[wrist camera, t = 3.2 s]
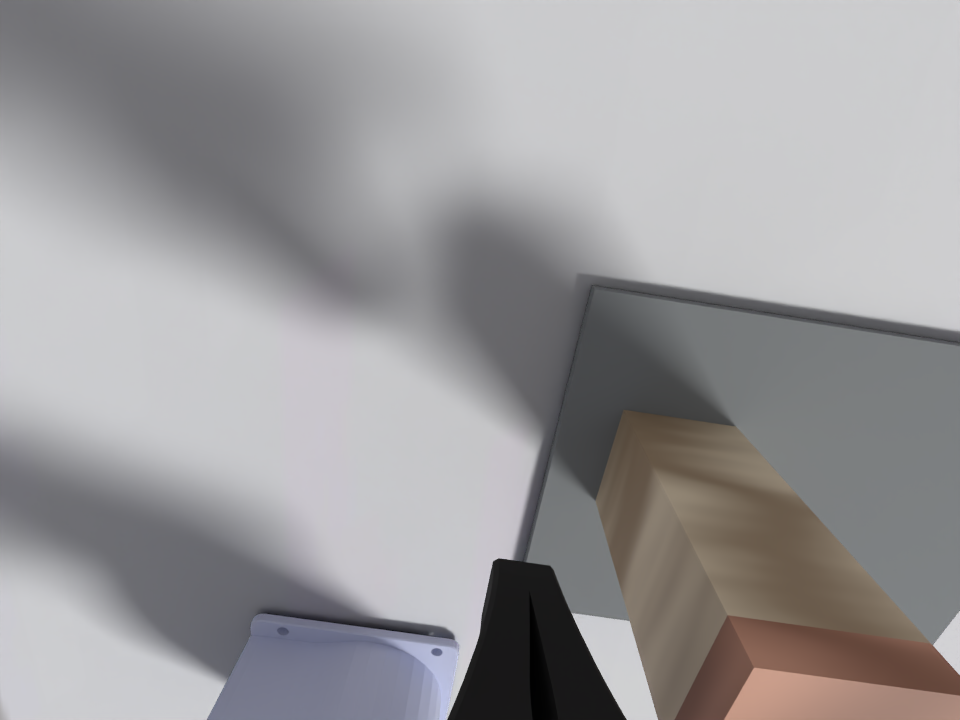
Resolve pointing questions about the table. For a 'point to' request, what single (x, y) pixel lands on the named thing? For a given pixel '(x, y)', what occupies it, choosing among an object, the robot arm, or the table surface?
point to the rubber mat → (769, 436)
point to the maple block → (751, 590)
